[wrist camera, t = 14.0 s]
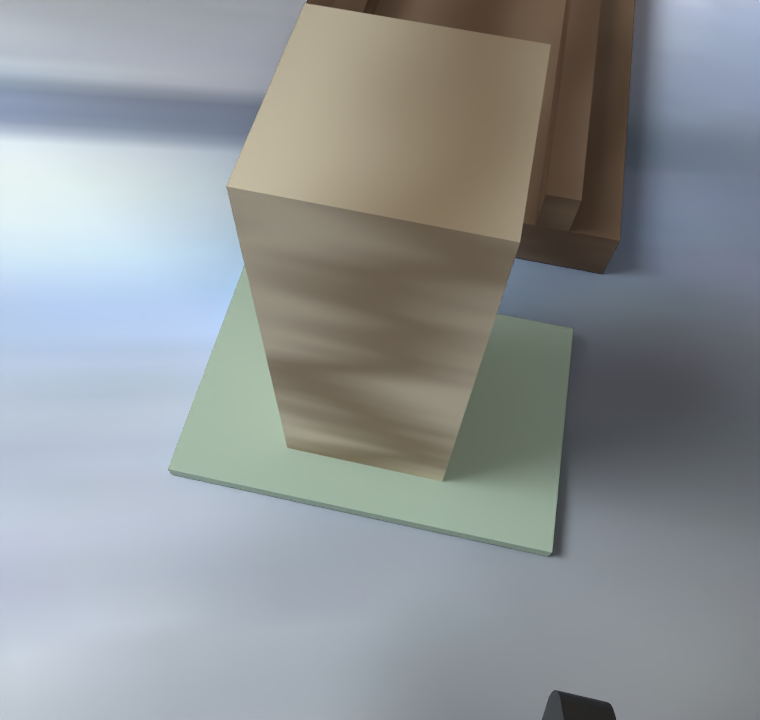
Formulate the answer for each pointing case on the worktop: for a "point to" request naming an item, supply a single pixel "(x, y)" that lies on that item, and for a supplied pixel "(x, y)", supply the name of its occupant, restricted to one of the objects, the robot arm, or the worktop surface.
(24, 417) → the worktop surface
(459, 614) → the worktop surface
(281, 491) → the sage mat
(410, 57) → the birch block
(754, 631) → the worktop surface
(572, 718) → the robot arm
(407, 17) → the walnut lane
